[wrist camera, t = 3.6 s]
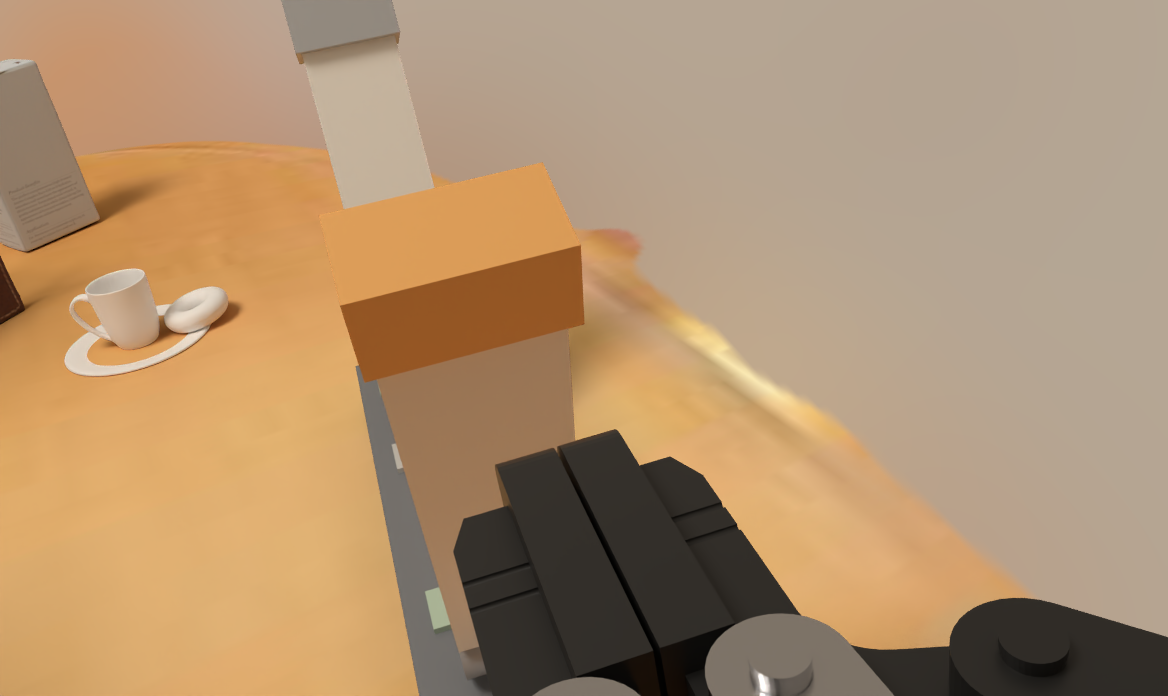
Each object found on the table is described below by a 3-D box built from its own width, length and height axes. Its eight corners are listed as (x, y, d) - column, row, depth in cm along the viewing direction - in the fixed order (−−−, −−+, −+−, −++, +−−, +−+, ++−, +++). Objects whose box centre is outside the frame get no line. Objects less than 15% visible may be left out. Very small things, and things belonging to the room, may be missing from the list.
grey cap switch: (395, 420, 41) (281, 0, 39) (394, 412, 43) (285, 13, 41) (493, 393, 42) (386, -21, 39) (487, 387, 44) (385, -7, 42)
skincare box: (74, 214, 79) (8, 56, 73) (104, 221, 76) (39, 58, 71) (-4, 247, 75) (-80, 82, 69) (25, 256, 72) (-51, 85, 67)
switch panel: (460, 874, 27) (442, 819, 25) (366, 403, 48) (354, 362, 47) (693, 791, 28) (685, 735, 27) (499, 367, 49) (491, 326, 48)
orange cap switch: (464, 696, 29) (340, 305, 16) (446, 627, 30) (319, 214, 18) (599, 652, 30) (580, 244, 17) (575, 586, 31) (542, 162, 18)
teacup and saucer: (248, 304, 61) (227, 241, 59) (193, 376, 54) (166, 307, 52) (111, 317, 62) (85, 256, 60) (39, 389, 55) (7, 322, 53)
